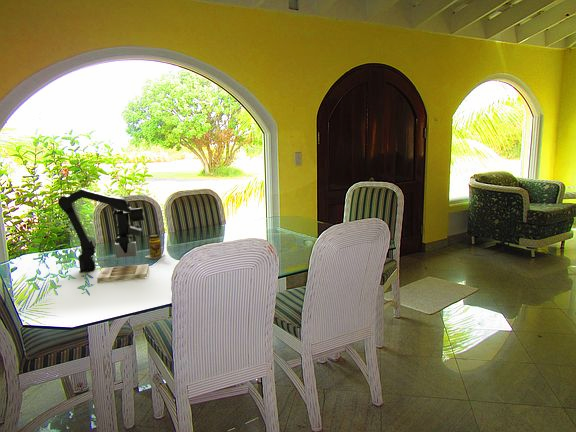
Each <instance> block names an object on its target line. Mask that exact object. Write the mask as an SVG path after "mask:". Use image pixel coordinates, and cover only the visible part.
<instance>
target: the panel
mask: <svg viewBox="0 0 576 432" xmlns="http://www.w3.org/2000/svg"><path fill="white" fill-rule="evenodd" d="M114 252H115V258H117V259H118V258H127V257H128V258H129V257H137V256H138V249H137V241H130V242H129V243H128V248H127V253H124V251H123V249H122V248H121V246H120V245H119V243H118V244H117V243H116V242H115V243H114Z"/></svg>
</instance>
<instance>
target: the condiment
mask: <svg viewBox="0 0 576 432" xmlns="http://www.w3.org/2000/svg"><path fill="white" fill-rule="evenodd" d="M148 237H149V238H148V239H149V240H148V246H149V254H148V255H146V256H144V257H145V258H149V259H154V260H156V259H160V258H161V257H164V256H165V254H162V245H161V244H162V242H161V239H160V234H155V233H154V234H150V235H149V236H148Z"/></svg>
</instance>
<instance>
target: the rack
mask: <svg viewBox="0 0 576 432" xmlns="http://www.w3.org/2000/svg"><path fill="white" fill-rule="evenodd" d="M149 266H150V264H149V263H146V264H145V263H144V264H134V265H132V264H131V265H122V266H112V267H111V266H110V267H102V268H101V270H100V271H99V273H98V276H97V277H96V280H97V281H96V282H97V283H100V282H99V281H105V282H112V281H113V280H116V281H125V279H127V280H135V278H138V279H146V278H145V277H148V273H149V269H150V268H149ZM113 282H114V281H113Z"/></svg>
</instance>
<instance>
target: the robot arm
mask: <svg viewBox="0 0 576 432" xmlns="http://www.w3.org/2000/svg"><path fill="white" fill-rule="evenodd" d="M82 198H83V199H87V200H90V201H94V202H97V203H102V204H105V205H108V206H110V207H112V208H114V210H113V212H112V213H111V215H112V216H116V223H117V224H116V228H117V237H116V238H115V243H117V244H118V243H119V245H120V246H121V248H122V249H123V251H124V253H127V248H128V243H129V242H131V239H132V237H133V236H137V237H141V233H142V230H143V229H142V227H140V224H136V225H135V226H132V225H131V223H130V221H132V222H133V223H134V222H145V215H144V214H145V213H144V208H143V207H137V208H133V207H132V206H131V205H130V204H129V202H128V200H127V198H126V197H123V196H116V195H115V196H114V195H113V196H111V195H106V194H103V193H100V192H96V191H92V190H88V189H86V188H79V190H76V191H74V192H71V193H69V194H63V195H62V196H60V197H59V198H58V200H57V204H58V206H59V208H61V210H62V211H63V212H64V213H65V215H67V217H68V219H69V221H70V223H71V225H72V227H73V230H74V231H75V234H76V235H77V237H78V239H79V244H80V249H81V252H80V253H79V255H78V264H79V273H88V272H89V271H91V272H94V271H95V269H96V267H97V266H96V261H95V259H94V255H95V253H96V250H97V246H98V244H97V243H96V242H95V238H94V237H92V238H90V237H89V236H88V233H87V232H86V229H85V227H84V225H83V222H82V220H81V219H80V216H79V215H78V212H77V209H76V206H75V205H76V204H75V202H77V201H79V200H81V199H82Z"/></svg>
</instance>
